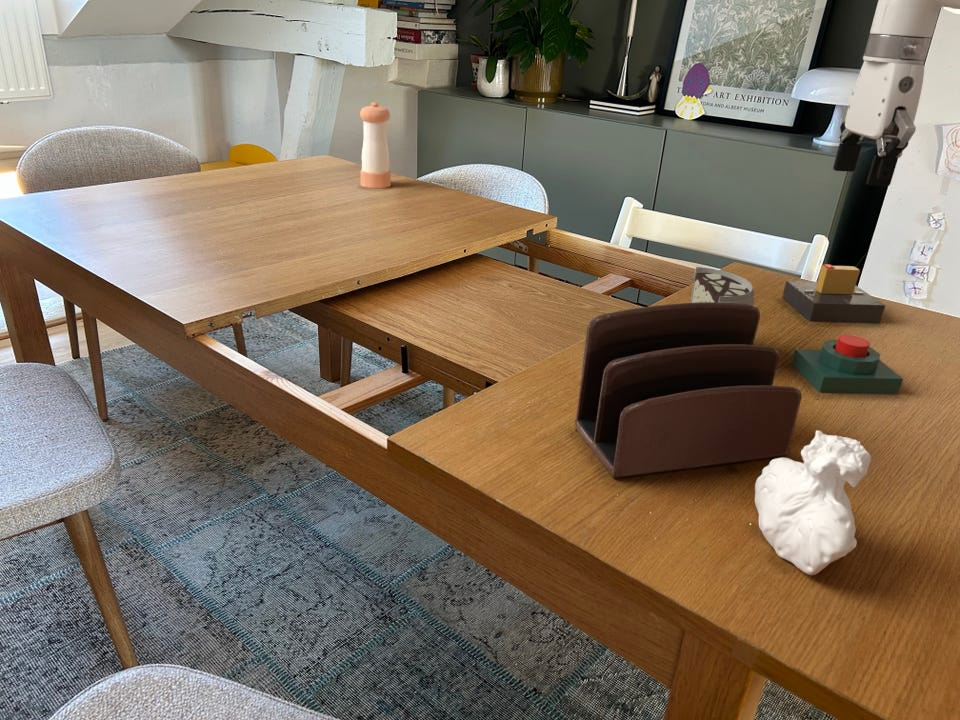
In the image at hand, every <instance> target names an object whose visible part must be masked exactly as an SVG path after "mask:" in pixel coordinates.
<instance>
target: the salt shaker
mask: <svg viewBox="0 0 960 720" xmlns="http://www.w3.org/2000/svg"><path fill="white" fill-rule="evenodd" d="M359 116H360V119H361V120H362V121H363V140H362V141H363V142H362V149H361V151H362V152H361V169H360V186H361V187H364V188H368V189H385V188H390V187H391V186H392V185H391V184H392V182H391V181H392V177H391V176H392V173H391V172H392V171H391V169H390V152H389V145H388V135H387V134H388V129H387V127H388V126H387V125H388V124H387V121H389V120H390V117H391V114H390V111H389V109H388V108H387V107H384V106H382V105H379V103H378V102H376V101H373V102H371V105H366V106H364V107H362V108H361V110H360V112H359Z"/></svg>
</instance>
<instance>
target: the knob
mask: <svg viewBox="0 0 960 720" xmlns="http://www.w3.org/2000/svg"><path fill="white" fill-rule="evenodd" d="M820 267H821V268H820V271H819V275H818V279H817V281H816V282H817V286H816V290H817V291H818V292H819V293H821V294H851V295H853V293H854V290H855V286H857V282H858V279H859V276H860V272H861V270H860V269H859V268H857V267H856V266H853V265H852V266H850V265H832V264H830V263H824V264H823V265H821V266H820Z"/></svg>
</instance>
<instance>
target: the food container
mask: <svg viewBox="0 0 960 720" xmlns="http://www.w3.org/2000/svg"><path fill="white" fill-rule="evenodd" d="M692 281H693V285H692V291H691V298H690V303H696V302H720V303H735V304H746V305H751V306H754V305H755V290H754V289H753V288H754V287H753V285H752V283H751V282H750V281H749V280H748V279H746V278H745V277H743V276H740V275H737V274H735V273H732V272H729V271H725V270H721V269H716V268H710V267H701V266H696V267H695V270H694V273H693V277H692ZM754 307H755V306H754Z"/></svg>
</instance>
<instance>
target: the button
mask: <svg viewBox="0 0 960 720" xmlns="http://www.w3.org/2000/svg"><path fill="white" fill-rule="evenodd" d="M836 340H837V344H836V347H835V350H836V351H837V352H839V353H841V354H843V355H846V356H851V357H856V358H865V357H866V355H867V352H868V349H869V347H871V343H870V341H869V340H867V339H866V338H863V337H861V336H857V335H854V334H853V335H852V334H841V335H839V336H838V337H837V339H836Z"/></svg>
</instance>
